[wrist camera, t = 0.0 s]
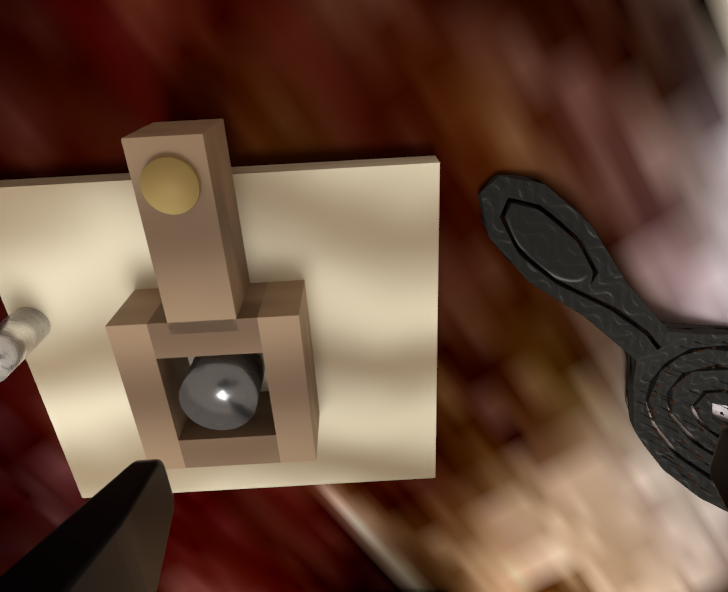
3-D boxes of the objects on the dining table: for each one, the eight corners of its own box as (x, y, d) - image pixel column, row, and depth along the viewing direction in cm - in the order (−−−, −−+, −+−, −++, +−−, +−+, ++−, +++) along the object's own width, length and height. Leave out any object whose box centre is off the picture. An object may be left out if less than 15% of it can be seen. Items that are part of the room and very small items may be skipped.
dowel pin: (55, 338, 23) (15, 381, 20) (18, 340, 23) (-28, 384, 20) (43, 305, 22) (0, 345, 19) (4, 308, 22) (-44, 348, 19)
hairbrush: (591, 108, 18) (928, 487, 25) (557, 97, 21) (862, 434, 28) (419, 275, 21) (764, 574, 28) (413, 242, 24) (723, 517, 31)
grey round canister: (274, 366, 25) (262, 427, 21) (211, 370, 25) (187, 432, 21) (266, 311, 24) (251, 366, 20) (199, 315, 24) (171, 370, 20)
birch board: (431, 460, 28) (435, 477, 27) (92, 479, 28) (82, 497, 27) (435, 155, 21) (439, 162, 20) (-23, 181, 21) (-43, 189, 20)
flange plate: (319, 414, 25) (315, 465, 22) (171, 422, 25) (147, 475, 22) (286, 114, 19) (274, 131, 16) (89, 125, 19) (42, 144, 16)
